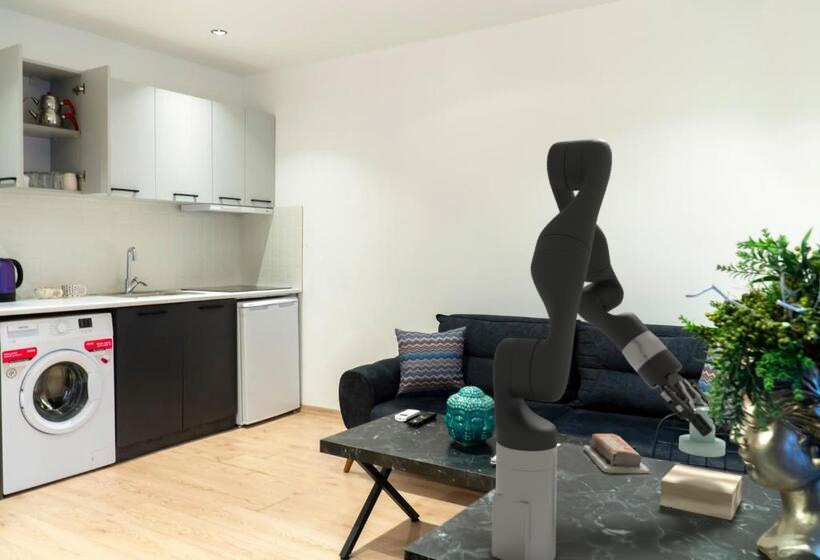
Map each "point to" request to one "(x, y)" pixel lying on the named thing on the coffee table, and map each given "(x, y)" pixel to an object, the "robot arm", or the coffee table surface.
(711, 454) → the mint green knob
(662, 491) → the block
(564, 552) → the coffee table surface
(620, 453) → the packaged product
